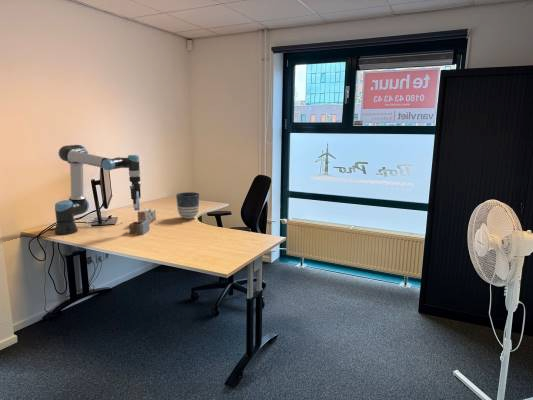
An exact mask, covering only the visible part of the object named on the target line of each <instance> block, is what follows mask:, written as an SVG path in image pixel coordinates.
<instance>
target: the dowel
mask: <svg viewBox="0 0 533 400" xmlns="http://www.w3.org/2000/svg"><path fill="white" fill-rule="evenodd" d="M136 199H137V208H134V207H133V210H134V211H135V212H138V211H140V207H139V201H140V198H139V194H138V191H136Z"/></svg>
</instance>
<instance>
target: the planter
mask: <svg viewBox="0 0 533 400" xmlns="http://www.w3.org/2000/svg"><path fill="white" fill-rule="evenodd" d="M175 198H176V206H177V212H178V215H179V216H180V217H181V218H182V219H187V220H190V219H194V218H195V217H196V216H197V215H198V213H199V211H200V210H199V208H200V193H198V192H195V191H190V192H185V191H184V192H180V193H179V192H178V193H176V195H175Z"/></svg>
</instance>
